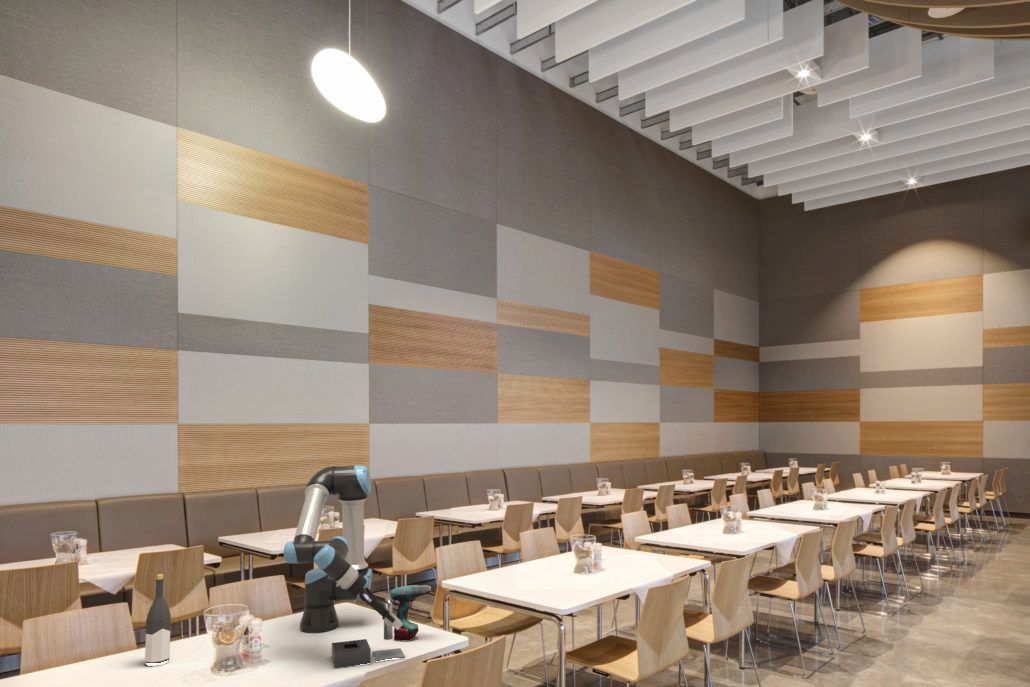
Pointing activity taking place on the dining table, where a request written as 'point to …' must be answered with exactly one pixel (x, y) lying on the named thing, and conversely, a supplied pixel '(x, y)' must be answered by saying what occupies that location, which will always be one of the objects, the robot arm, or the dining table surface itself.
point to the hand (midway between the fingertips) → (399, 625)
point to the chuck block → (351, 653)
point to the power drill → (406, 598)
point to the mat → (388, 654)
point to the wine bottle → (158, 627)
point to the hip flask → (387, 626)
